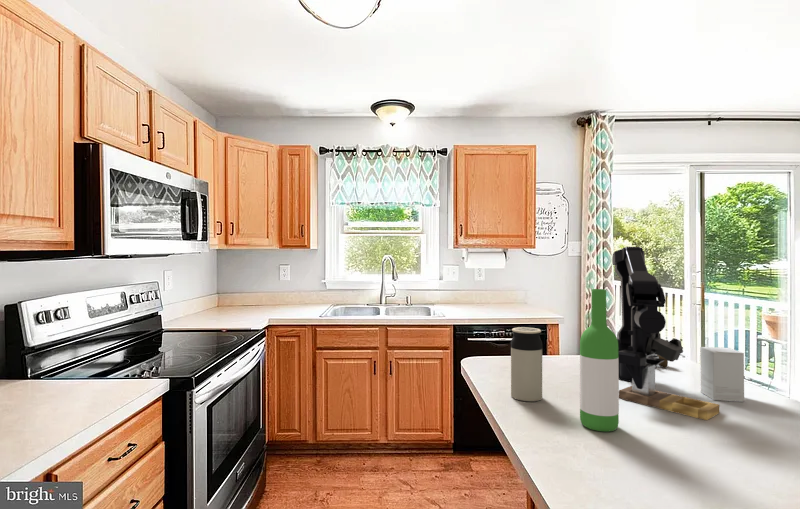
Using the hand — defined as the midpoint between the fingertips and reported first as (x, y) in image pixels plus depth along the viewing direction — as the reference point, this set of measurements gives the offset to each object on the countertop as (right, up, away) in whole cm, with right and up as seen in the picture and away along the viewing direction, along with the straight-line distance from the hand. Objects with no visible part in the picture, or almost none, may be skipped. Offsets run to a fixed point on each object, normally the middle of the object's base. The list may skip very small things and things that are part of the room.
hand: (643, 387), depth 115 cm
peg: (0, -3, 0) cm, 3 cm away
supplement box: (+22, -4, +2) cm, 22 cm away
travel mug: (-30, -3, +2) cm, 30 cm away
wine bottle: (-20, -3, -18) cm, 27 cm away
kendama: (+23, -4, +39) cm, 46 cm away
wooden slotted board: (+3, -3, -4) cm, 6 cm away
